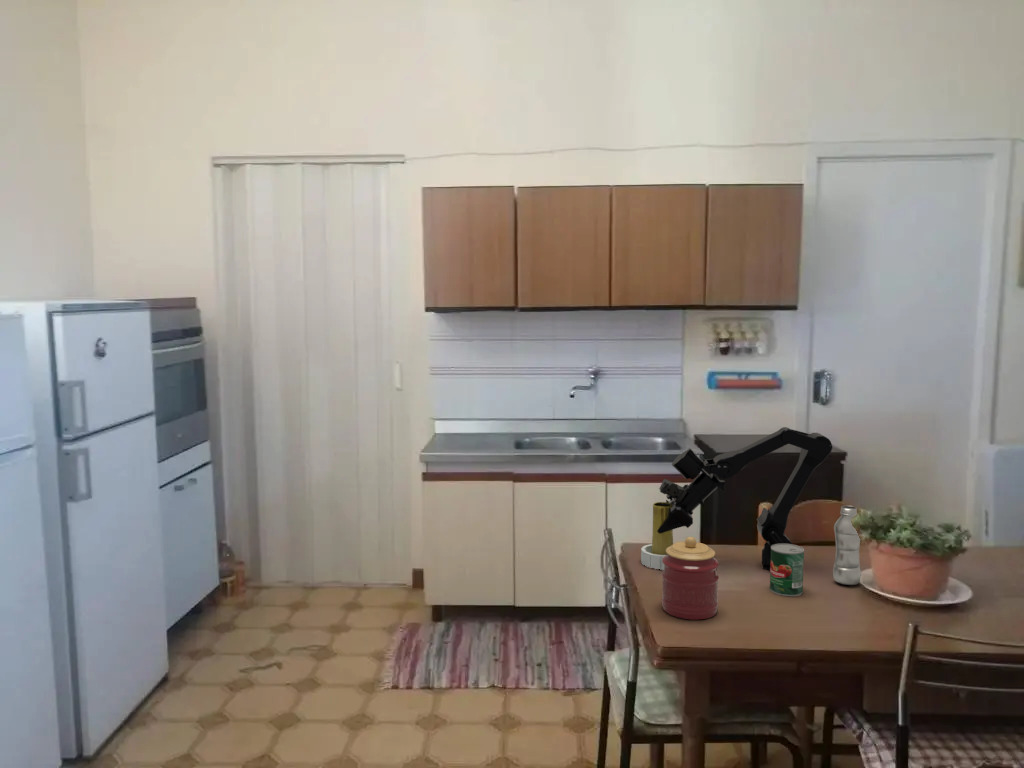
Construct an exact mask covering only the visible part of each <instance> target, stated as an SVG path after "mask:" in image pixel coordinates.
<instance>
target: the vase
mask: <svg viewBox="0 0 1024 768" xmlns="http://www.w3.org/2000/svg"><path fill="white" fill-rule="evenodd" d="M668 508H669V509H671V508H672V504H671V503H667V502H666V501H656V502H654V503H653V504H652V536H651V537H652V538H651V539H652V541H651V542H652V543H651V544H652V552H651V553H652V554H657V555H667V553H666V549H667V548H668V547H670V546H672V545H673V544H674V536H673V535H674V533H673V530H674V529H673V530H670V531H667V532H664V533H661V534H659V533H658V532H657V530H658V529H659V527H660V526H661V525H662V523H663V522H664V521H665V519H666V518H667V517H668Z"/></svg>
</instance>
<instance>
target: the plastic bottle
mask: <svg viewBox="0 0 1024 768" xmlns="http://www.w3.org/2000/svg"><path fill="white" fill-rule="evenodd" d="M857 512H858V507H856V506H853V505H842V506H840V512H839V514H840V516H839V518H838V519H837V520H836V522H835V523H834V526H833V530H834V538H835V556H834V557H835V559H834V564H833V569H832V575H833V576H832V577H833V579H834V581H835V582H836V583H838V584H841V585H846V586H847V585H848V586H855V585H857V584H859V583H860V581H861V578H862V572H861V566H860V545H861V539H860V538H859V536H858V533H857V531H856V529H855V528H854V527H853V526H852V523H851V520H852V518H853V517H854V516H856V515H858V513H857ZM856 517H857V516H856Z"/></svg>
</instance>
